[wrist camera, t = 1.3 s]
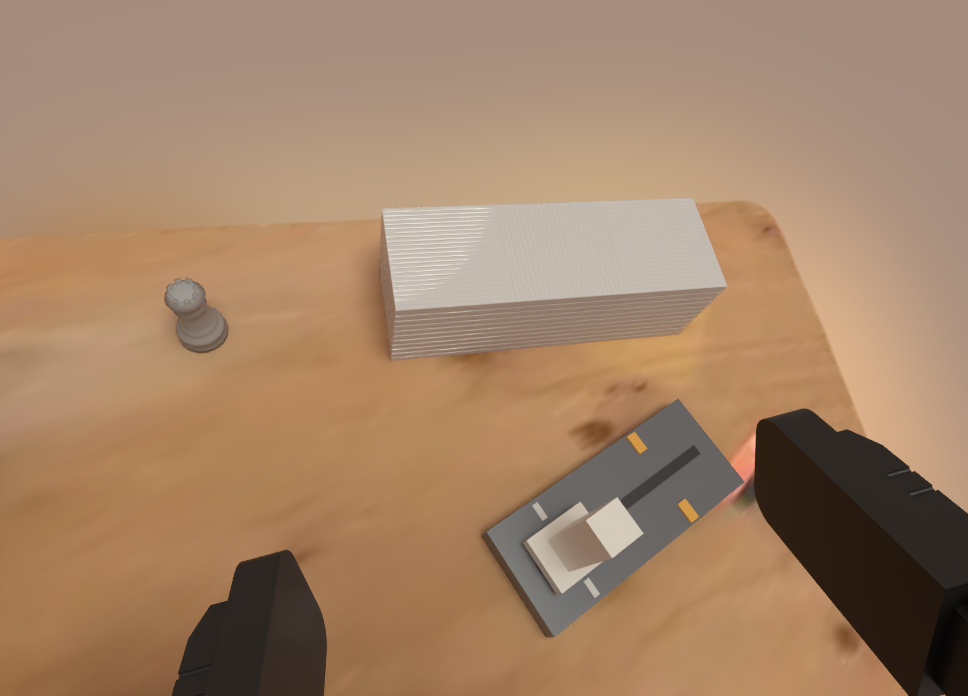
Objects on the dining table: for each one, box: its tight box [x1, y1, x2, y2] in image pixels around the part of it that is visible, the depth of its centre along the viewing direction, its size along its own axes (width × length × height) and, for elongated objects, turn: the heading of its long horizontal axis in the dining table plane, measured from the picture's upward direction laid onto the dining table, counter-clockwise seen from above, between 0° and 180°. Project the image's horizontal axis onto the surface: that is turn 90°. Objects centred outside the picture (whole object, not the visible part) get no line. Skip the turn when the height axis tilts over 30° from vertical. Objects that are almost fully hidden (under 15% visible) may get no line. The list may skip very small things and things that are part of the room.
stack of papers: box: [379, 198, 727, 361], centre depth 62 cm, size 32×11×11 cm, turn 100°
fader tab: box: [523, 497, 644, 595], centre depth 47 cm, size 6×5×12 cm
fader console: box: [482, 399, 744, 637], centre depth 57 cm, size 24×10×3 cm, turn 124°
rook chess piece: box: [164, 278, 228, 352], centre depth 55 cm, size 4×4×8 cm
